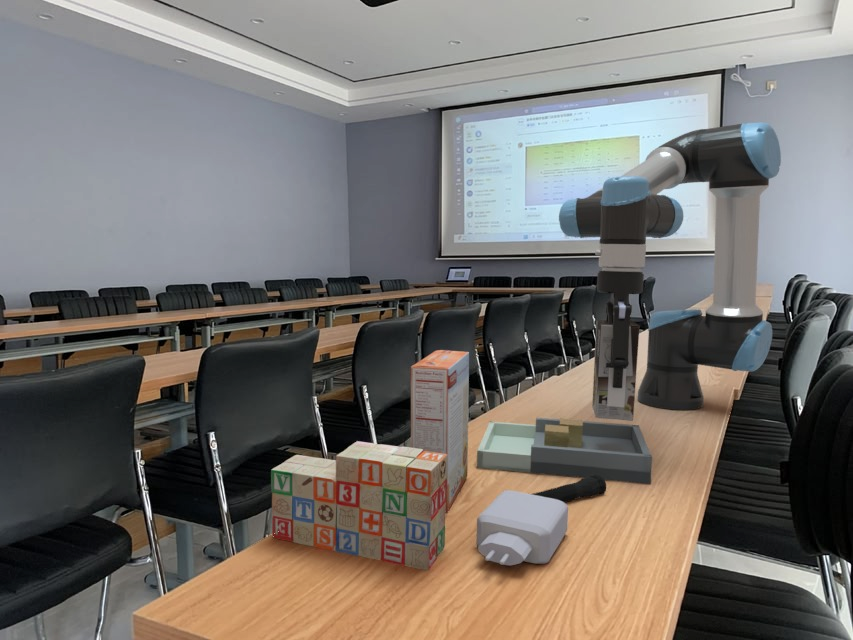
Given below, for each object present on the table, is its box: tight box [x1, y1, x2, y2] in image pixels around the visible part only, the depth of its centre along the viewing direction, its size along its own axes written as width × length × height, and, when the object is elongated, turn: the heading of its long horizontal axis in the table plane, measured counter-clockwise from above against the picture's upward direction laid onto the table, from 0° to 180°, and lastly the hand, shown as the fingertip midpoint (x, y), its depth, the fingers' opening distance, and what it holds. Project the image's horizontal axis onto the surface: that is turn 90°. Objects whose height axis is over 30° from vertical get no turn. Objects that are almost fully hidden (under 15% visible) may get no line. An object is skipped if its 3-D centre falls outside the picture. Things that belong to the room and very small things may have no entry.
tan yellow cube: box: [544, 425, 569, 448], centre depth 107 cm, size 4×4×4 cm
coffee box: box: [591, 319, 641, 422], centre depth 106 cm, size 9×6×16 cm
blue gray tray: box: [529, 417, 653, 485], centre depth 108 cm, size 19×18×4 cm
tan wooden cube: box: [559, 417, 583, 448], centre depth 111 cm, size 4×4×4 cm
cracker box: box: [410, 349, 470, 512], centre depth 92 cm, size 14×6×21 cm, turn 164°
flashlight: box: [531, 475, 607, 503], centre depth 90 cm, size 3×16×3 cm, turn 122°
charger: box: [475, 489, 569, 567], centre depth 75 cm, size 5×9×15 cm
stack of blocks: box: [270, 440, 447, 571], centre depth 76 cm, size 21×6×12 cm, turn 70°
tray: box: [476, 421, 536, 474], centre depth 111 cm, size 9×18×3 cm, turn 167°
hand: (613, 399), depth 106 cm, fingers closed on coffee box, 9 cm apart
